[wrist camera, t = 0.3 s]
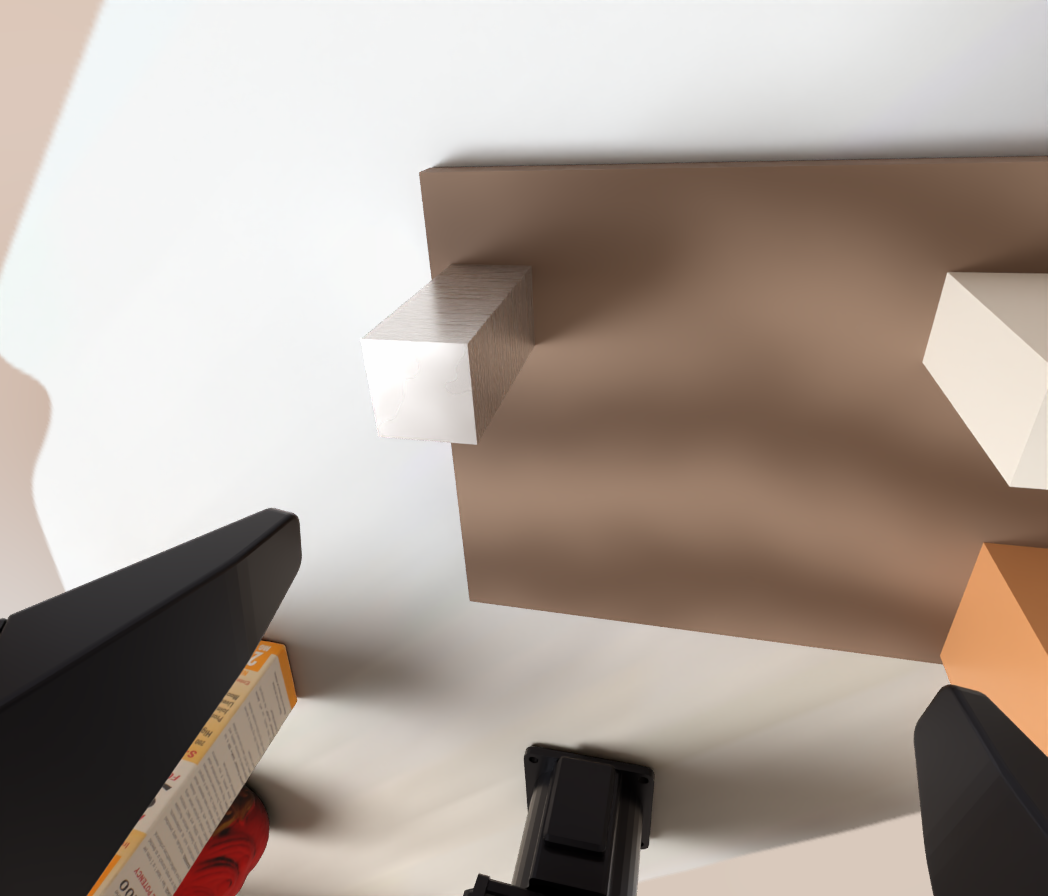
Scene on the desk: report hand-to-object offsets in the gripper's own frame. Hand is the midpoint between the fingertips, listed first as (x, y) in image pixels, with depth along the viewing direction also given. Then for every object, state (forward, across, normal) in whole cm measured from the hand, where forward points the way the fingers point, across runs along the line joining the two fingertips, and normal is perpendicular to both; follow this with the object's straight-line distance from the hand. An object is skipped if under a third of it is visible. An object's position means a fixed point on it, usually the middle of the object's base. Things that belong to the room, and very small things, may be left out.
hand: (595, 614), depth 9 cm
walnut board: (+14, -6, +3) cm, 15 cm away
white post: (+14, -9, -2) cm, 17 cm away
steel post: (+14, +5, +1) cm, 15 cm away
